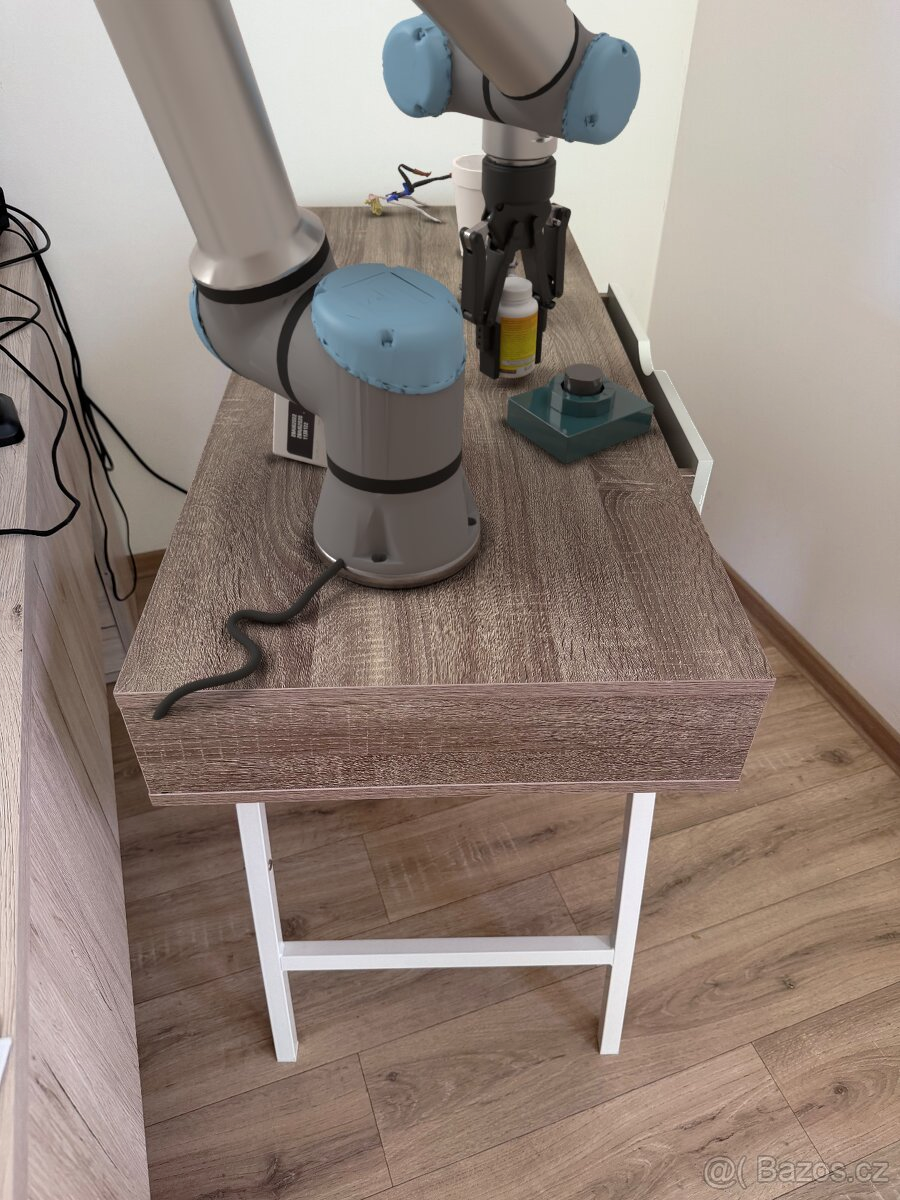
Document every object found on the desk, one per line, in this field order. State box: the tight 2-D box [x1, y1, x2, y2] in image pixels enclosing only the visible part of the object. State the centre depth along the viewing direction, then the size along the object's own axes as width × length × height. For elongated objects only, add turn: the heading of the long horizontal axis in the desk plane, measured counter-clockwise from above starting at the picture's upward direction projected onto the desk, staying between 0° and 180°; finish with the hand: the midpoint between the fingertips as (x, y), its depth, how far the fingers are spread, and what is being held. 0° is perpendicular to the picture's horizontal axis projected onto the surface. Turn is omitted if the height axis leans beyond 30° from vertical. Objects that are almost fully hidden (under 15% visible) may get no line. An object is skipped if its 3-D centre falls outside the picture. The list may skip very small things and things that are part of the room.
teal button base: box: [506, 372, 655, 465], centre depth 99 cm, size 12×10×5 cm
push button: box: [563, 362, 604, 397], centre depth 97 cm, size 4×4×2 cm
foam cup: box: [451, 152, 488, 257], centre depth 135 cm, size 10×9×13 cm
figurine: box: [363, 163, 452, 224], centre depth 153 cm, size 10×9×20 cm
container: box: [272, 393, 327, 469], centre depth 93 cm, size 8×8×13 cm
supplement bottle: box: [495, 276, 538, 379], centre depth 104 cm, size 6×6×10 cm
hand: (510, 366), depth 107 cm, fingers closed on supplement bottle, 6 cm apart
